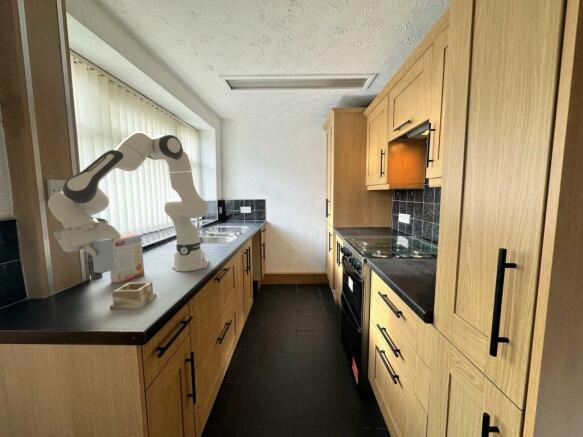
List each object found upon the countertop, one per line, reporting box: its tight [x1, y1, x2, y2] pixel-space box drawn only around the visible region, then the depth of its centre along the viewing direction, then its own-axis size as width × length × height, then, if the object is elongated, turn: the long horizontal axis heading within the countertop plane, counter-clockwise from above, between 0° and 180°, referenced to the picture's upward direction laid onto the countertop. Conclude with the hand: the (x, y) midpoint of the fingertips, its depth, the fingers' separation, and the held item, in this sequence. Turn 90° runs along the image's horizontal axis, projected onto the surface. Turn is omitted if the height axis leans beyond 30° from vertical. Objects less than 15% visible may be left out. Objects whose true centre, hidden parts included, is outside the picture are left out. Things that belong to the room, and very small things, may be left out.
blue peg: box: [91, 239, 114, 274], centre depth 97 cm, size 4×4×12 cm
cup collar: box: [109, 281, 157, 310], centre depth 98 cm, size 11×11×6 cm
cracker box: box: [109, 234, 145, 284], centre depth 126 cm, size 14×6×21 cm, turn 162°
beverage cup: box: [87, 253, 104, 280], centre depth 128 cm, size 7×7×20 cm
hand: (104, 253), depth 97 cm, fingers closed on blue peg, 4 cm apart
